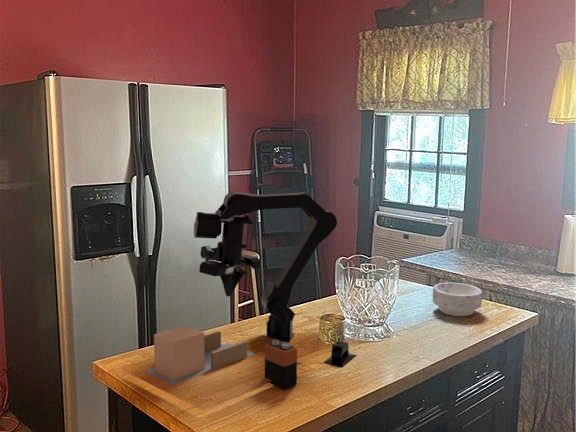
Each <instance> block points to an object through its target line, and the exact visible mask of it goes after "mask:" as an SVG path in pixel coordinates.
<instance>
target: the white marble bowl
mask: <svg viewBox="0 0 576 432" xmlns="http://www.w3.org/2000/svg"><path fill="white" fill-rule="evenodd" d="M482 301H483V290H482V289H480V288H479V287H477V286H474V285H472V284H468V283H462V282H461V283H460V282H439V283H437V284H435V285H433V287H432V303H433V304H434V305H436V306H437V307H438V309H439V311H440V312H441V313H443V314H444V313H445V315H448V316H451V315H452V316H451V317H468V316H470V315H472V314H473V313H474V312H475V311H476V310H477V309H480V307H482Z"/></svg>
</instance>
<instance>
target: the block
mask: <svg viewBox="0 0 576 432" xmlns="http://www.w3.org/2000/svg"><path fill="white" fill-rule="evenodd" d="M204 336H205V332H202V331H200V330H197V329H196V328H193V327H189V326H186V325H182V326H177V327H175V328H172V329H168V330H165V331H161V332H159V333H154V334H153V347H154V348H153V352H154V353H153V355H154V368H155V371H156V372H158V373H160V374H162V375H164V376H166V377H168V378H171V379H173V380H176V379H179V378H181V377H184V376H187V375H190V374H192V373H195V372H198V371H200V370H203V369H205V354H204Z"/></svg>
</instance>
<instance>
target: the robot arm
mask: <svg viewBox="0 0 576 432" xmlns="http://www.w3.org/2000/svg"><path fill="white" fill-rule="evenodd" d="M295 208H296V209H298V208H300V210H302V212H303V213H304V214H305V215H306V216H307V217H308V221H307V223H306V229H305V233H304V235H303V238H302V239H301V241H300V243H299V244H298V246H297V248H296V249H295V251H294V252H293V254H292V256H291V257H290V259H289V261H288V262H287V264H286V266H285V267H284V269H283V270H282V272H281V274H280V275H279V277H278V278H277V279H276V280H274V282H272V281H271V280H268V281H267V283H266V286H265V287H264V289H263V290H262V291H261V292H260V293H261V298H260V299H261V304H262V306H263V307H264V308H265V310H266V311H267V312H268V313H269V314H270V315H269V316H268V320H267V321H266V337H268V338H270V339H273V340H279V341H280V342H283V343H284V342H285V343H290V342H291V340H292V339H293V338H294V335H295V333H294V332H293V331H294V330H293V325H294V324H293V322H294V317H295V315H296V313H295V312H294V311H293V309H291V308H290V307H289V303H290V300H291V296H292V291H293V288H294V286H295V284H296V282H297V280H299V277H301V276H300V275H301V274H302V273H303V272H304V269H305V268H306V266H307V264H308V263H309V260H311V258H312V256H313V254H315V251H316V249H317V247H319V245H320V243H322V242H324V240H325V239H327V238H328V237H329V236H330V235H331V234H332V233H333V232H334V230H335V229H336V227H337V226H338V221H337V217H336V215H335V214H334V213H332V212H330V211H328V210H326V209H324V208H323V207H322V206H321V205H320V204H318V203H317V202H316V201H315V200H314V199H313V198H312V197H311V196H310V195H309V194H308V193H306V192H303V191H298V192H294V193H293V192H291V193H269V194H253V193H248V192H241V191H230V192H227V194H226V195H225V196H224V198H223V203H222V204H221V205H220V206H219V207H218V208H217V210H216V211H215V212H202V211H196V217H195V220H194V221H195V222H194V223H193V236H194V238H195V239H217V237H220V236H221V235H222V236H221V238H222V239H221V241H218V242H217V247H211V246H210V245H204V246H201V247H200V253H199V254H200V258H202V259H204V261H202V262H201V263H200V264H199V273H202V274H205V275H207V276H211V277H219V278H220V279H221V283H222V287H223V290H224V293H225V296H226V297H231V296H232V295H233V293H234V291H235V289H236V288H237V286H238V284H239V283H240V281H241V280H242V278H243V277H244V276H245V274H247V271H246V270H243V269H244V268H243V267H245V266H246V267H247V266H250V267H251V269H253V270H255V269H260V267H261V260H260V259H259V257H258V256H253V255H248V254H243V251H244V249H246V248H247V243H244V236H245V228H246V227H245V226H246V225H247V224H248V225H253V223H254V222H253V220H252V219H251V218H250V217H249V215H248V214H250V213H254V212H256V211H257V212H258V211H261V210H278V209H295Z"/></svg>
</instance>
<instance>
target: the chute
mask: <svg viewBox="0 0 576 432" xmlns="http://www.w3.org/2000/svg"><path fill="white" fill-rule="evenodd" d="M204 354H205V369H203V370H200V371H198V372H195V373H192V374H190V375H187V376H184V377H181V378H179V379H176V380H173V379H171V378H168V377H166V376H164V375H162V374H160V373H158V372H156V371H155V367H152V368H149V369H146V370H144V372H145V373H147V374H149V375H152V376H153V377H155V378H158V379H160V380H162V381H163V382H166V383H167V384H169V385H173V386H174V385H176V384H179V383H181V382H184V381H187V380H190V379H192V378H195V377H197V376H200V375H203V374H206V373H208V372H211V371H214V370H216V369H218V368H221V367H224V366H226V365H229V364H232V363H234V362H238V361H240V360H242V359H243V360H244V359H246V358H249V357H250V356H253V355H256V353H255V352H254V351H253V352H252V351H250V350H248V341H247V340H243V341H240V342H237V343H233V344H231V343H229V342H226V343H222V332H221V331H219V330H218V331H217V330H216V331H215V332H212V333H208V334H204Z"/></svg>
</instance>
